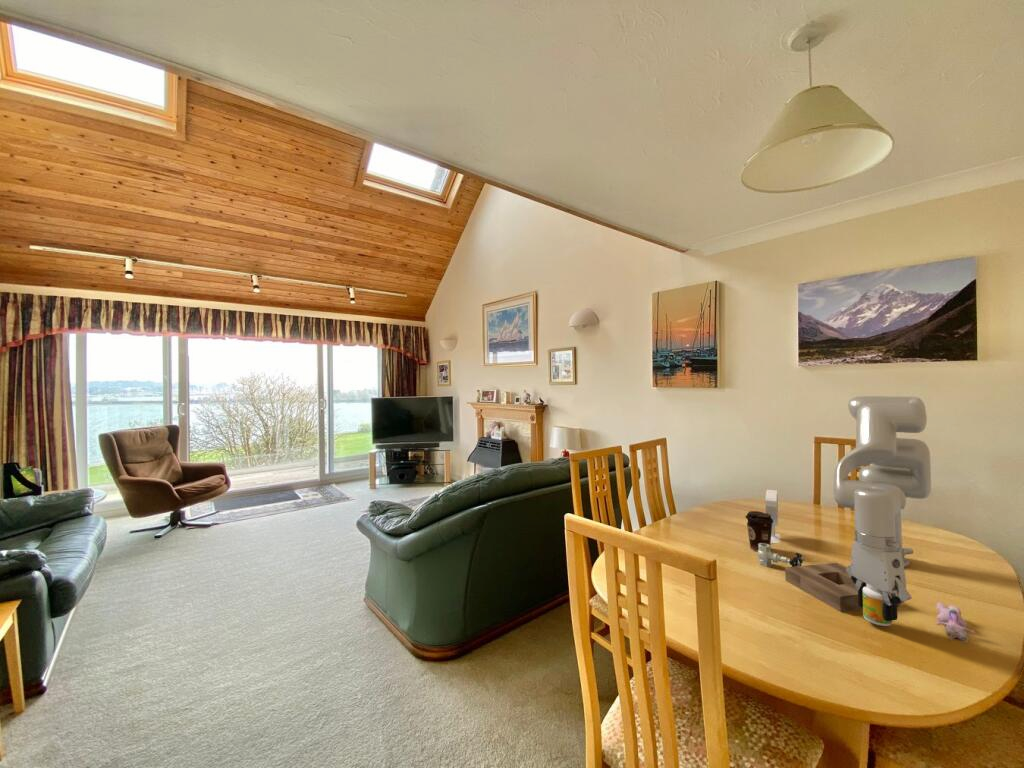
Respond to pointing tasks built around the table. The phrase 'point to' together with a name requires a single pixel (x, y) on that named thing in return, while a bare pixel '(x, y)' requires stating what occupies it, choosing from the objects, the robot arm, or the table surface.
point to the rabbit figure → (953, 622)
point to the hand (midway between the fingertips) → (877, 612)
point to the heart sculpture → (773, 512)
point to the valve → (775, 556)
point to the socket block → (826, 584)
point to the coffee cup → (759, 528)
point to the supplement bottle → (874, 605)
